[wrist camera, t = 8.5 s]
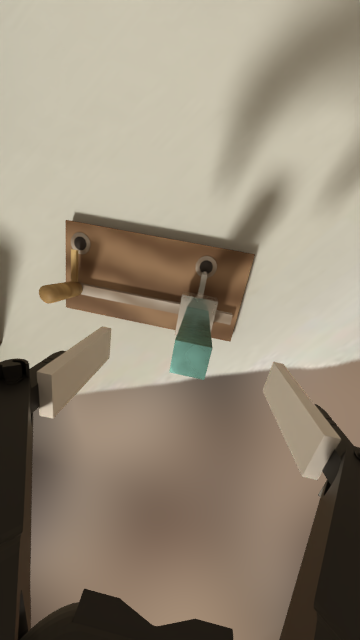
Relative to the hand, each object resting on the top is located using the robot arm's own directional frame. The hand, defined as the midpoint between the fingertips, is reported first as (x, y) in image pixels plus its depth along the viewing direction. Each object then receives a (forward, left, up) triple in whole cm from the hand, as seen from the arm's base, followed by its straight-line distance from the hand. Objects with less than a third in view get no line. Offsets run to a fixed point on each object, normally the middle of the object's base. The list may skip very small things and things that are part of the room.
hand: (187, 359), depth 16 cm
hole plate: (-3, -8, -18) cm, 20 cm away
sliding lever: (-1, 0, -16) cm, 16 cm away
